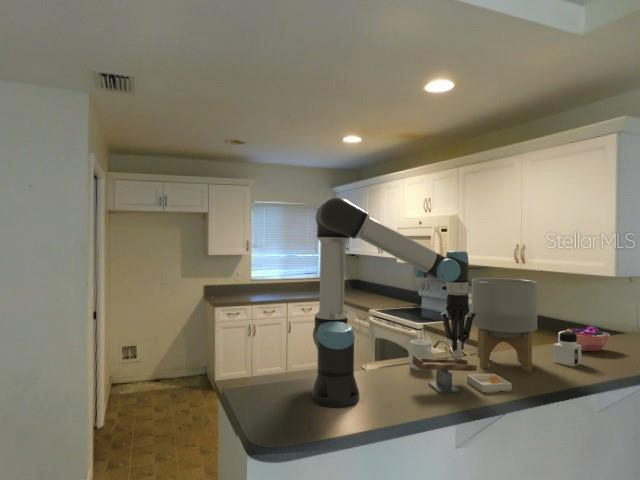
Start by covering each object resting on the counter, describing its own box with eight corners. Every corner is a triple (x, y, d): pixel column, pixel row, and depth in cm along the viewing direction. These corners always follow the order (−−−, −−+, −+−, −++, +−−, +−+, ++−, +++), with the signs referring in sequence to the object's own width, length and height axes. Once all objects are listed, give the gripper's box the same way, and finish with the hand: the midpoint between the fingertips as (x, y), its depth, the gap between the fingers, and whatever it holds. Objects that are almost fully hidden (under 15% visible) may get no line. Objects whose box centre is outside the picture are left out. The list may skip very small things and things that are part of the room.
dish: (482, 392, 141) (482, 384, 141) (466, 382, 151) (466, 374, 151) (511, 391, 142) (511, 383, 142) (494, 380, 153) (494, 373, 153)
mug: (441, 372, 162) (441, 345, 162) (422, 374, 159) (422, 347, 159) (423, 363, 173) (423, 338, 173) (406, 365, 171) (406, 340, 171)
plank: (420, 369, 140) (420, 360, 140) (406, 358, 152) (407, 350, 152) (476, 371, 142) (477, 362, 142) (458, 360, 155) (458, 352, 155)
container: (581, 363, 175) (581, 332, 175) (572, 367, 170) (572, 334, 170) (562, 359, 181) (562, 329, 181) (553, 362, 177) (553, 331, 177)
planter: (458, 359, 180) (458, 279, 180) (499, 352, 191) (499, 277, 191) (508, 376, 158) (508, 284, 158) (550, 367, 169) (551, 282, 169)
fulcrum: (440, 394, 139) (440, 373, 139) (428, 384, 149) (428, 364, 149) (460, 393, 140) (460, 372, 140) (447, 383, 150) (447, 363, 150)
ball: (502, 383, 146) (494, 387, 145) (497, 380, 149) (489, 384, 149) (499, 375, 146) (491, 379, 145) (494, 372, 149) (486, 376, 148)
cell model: (553, 346, 204) (553, 322, 204) (591, 345, 207) (591, 322, 207) (578, 355, 188) (578, 330, 188) (620, 354, 190) (620, 329, 190)
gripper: (445, 295, 148) (445, 362, 148) (479, 294, 150) (480, 361, 150) (436, 292, 155) (436, 356, 155) (469, 291, 157) (469, 355, 157)
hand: (457, 358), depth 152 cm, fingers closed
